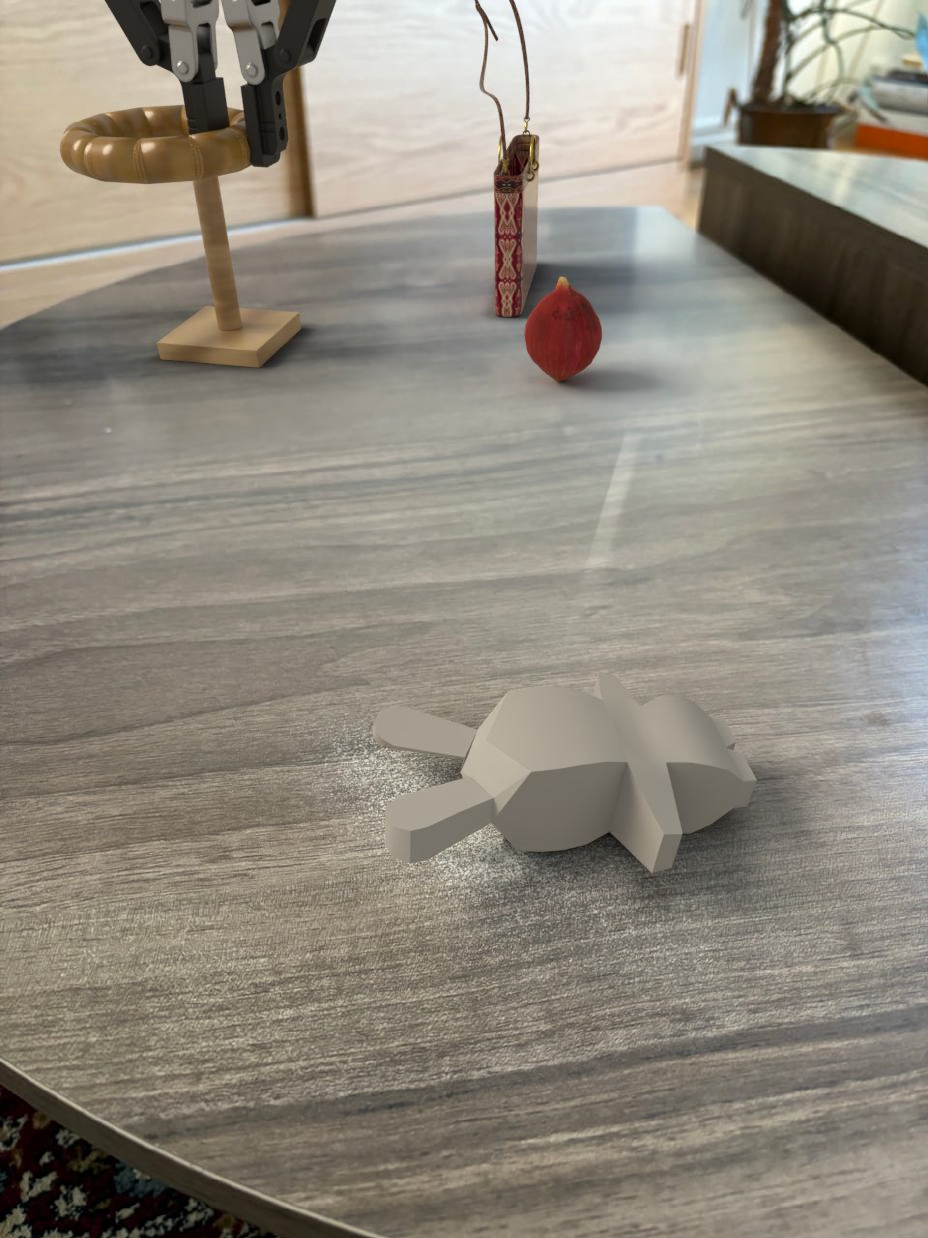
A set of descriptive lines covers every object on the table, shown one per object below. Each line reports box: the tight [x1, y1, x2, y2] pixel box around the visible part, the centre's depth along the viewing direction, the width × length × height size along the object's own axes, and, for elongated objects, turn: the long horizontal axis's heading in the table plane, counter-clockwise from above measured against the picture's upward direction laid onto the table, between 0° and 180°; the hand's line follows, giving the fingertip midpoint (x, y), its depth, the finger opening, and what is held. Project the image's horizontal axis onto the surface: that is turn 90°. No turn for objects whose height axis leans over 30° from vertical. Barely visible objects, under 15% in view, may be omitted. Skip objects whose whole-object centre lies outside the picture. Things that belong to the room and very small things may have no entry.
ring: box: [59, 104, 252, 185], centre depth 51 cm, size 10×10×2 cm
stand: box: [156, 176, 302, 369], centre depth 81 cm, size 9×9×16 cm
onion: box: [523, 276, 603, 383], centre depth 75 cm, size 6×6×8 cm
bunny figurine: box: [371, 671, 758, 874], centre depth 41 cm, size 10×5×15 cm
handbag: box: [474, 0, 540, 318], centre depth 89 cm, size 7×21×25 cm, turn 171°
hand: (241, 160), depth 51 cm, fingers closed on ring, 2 cm apart
